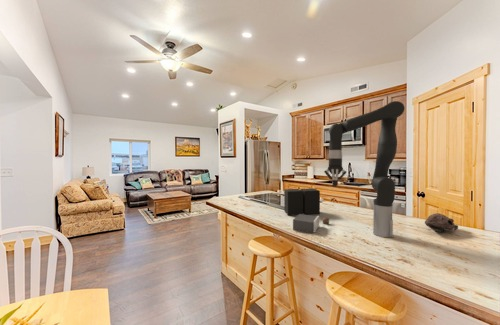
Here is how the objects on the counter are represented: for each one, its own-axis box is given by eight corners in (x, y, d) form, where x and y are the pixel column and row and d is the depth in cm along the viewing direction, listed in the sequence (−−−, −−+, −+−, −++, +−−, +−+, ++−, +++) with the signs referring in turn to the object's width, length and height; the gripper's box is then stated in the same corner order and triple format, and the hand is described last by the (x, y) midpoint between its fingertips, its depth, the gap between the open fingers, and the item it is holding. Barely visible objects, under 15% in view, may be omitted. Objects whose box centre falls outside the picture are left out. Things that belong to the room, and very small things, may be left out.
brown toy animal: (444, 239, 116) (445, 221, 115) (417, 232, 126) (418, 215, 126) (461, 230, 129) (461, 214, 128) (435, 225, 139) (435, 209, 139)
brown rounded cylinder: (329, 223, 145) (329, 217, 145) (328, 224, 142) (328, 219, 142) (323, 222, 147) (323, 217, 147) (322, 223, 144) (322, 218, 143)
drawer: (319, 225, 139) (319, 215, 139) (314, 231, 127) (314, 221, 127) (305, 223, 143) (305, 213, 143) (299, 229, 131) (299, 219, 131)
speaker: (314, 210, 177) (314, 188, 176) (319, 214, 166) (319, 190, 165) (284, 212, 174) (284, 189, 173) (287, 215, 164) (287, 191, 163)
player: (317, 226, 140) (317, 216, 139) (312, 233, 127) (312, 222, 127) (299, 223, 145) (299, 213, 145) (293, 229, 133) (293, 219, 133)
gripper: (322, 157, 129) (322, 186, 130) (346, 157, 123) (346, 188, 124) (324, 157, 136) (324, 184, 137) (347, 157, 130) (347, 186, 130)
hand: (335, 186), depth 130 cm, fingers closed
